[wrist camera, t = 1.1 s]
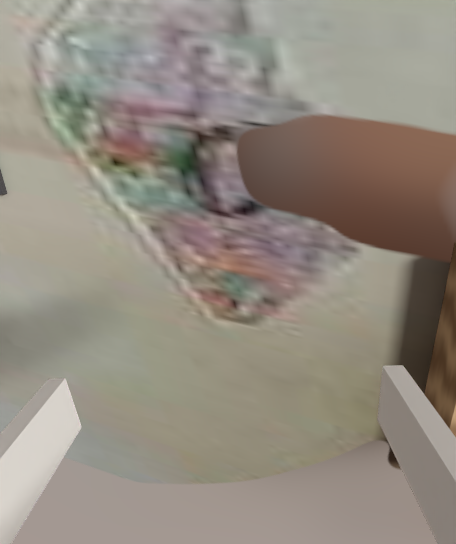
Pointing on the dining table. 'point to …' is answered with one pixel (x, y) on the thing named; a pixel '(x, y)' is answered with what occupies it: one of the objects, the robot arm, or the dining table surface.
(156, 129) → the dining table surface
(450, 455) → the robot arm
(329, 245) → the dining table surface
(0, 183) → the mat
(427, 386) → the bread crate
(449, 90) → the dining table surface
